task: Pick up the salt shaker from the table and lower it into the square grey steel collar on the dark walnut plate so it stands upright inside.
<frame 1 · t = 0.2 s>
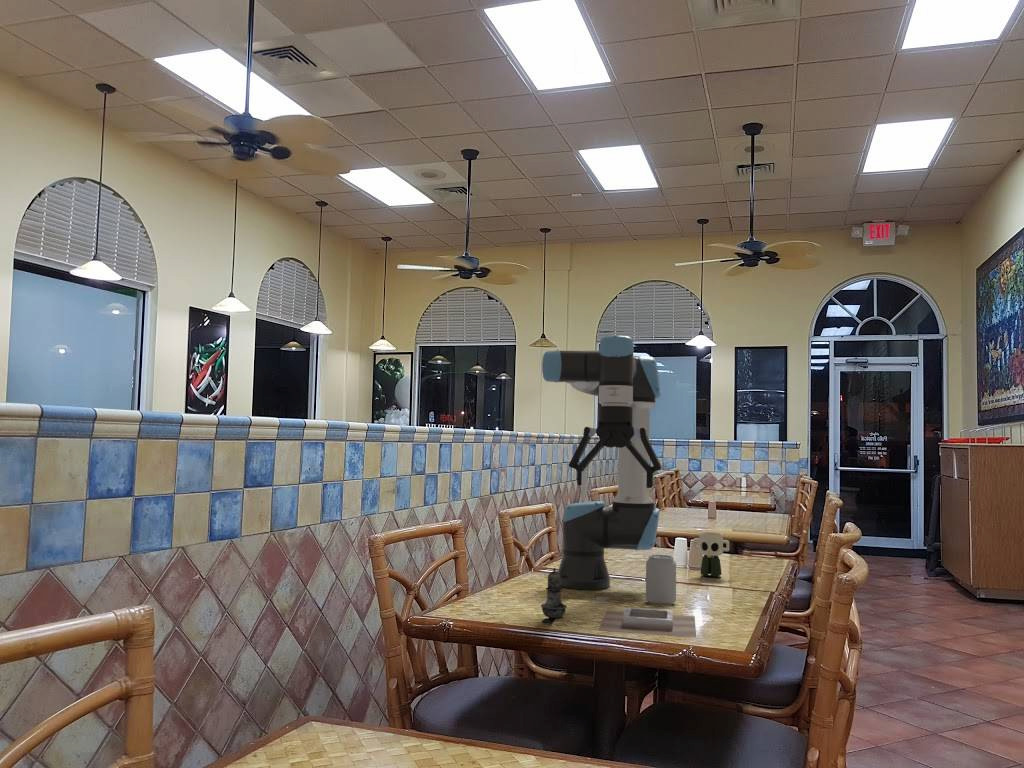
hand: (614, 502, 176), 27 cm above the table, tool pointing down, fingers open, 13 cm apart
steel collar: (648, 622, 175), resting on walnut plate
walnut plate: (648, 628, 175), on the table
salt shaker: (553, 622, 179), on the table
can: (660, 604, 201), on the table
character mug: (710, 577, 243), on the table
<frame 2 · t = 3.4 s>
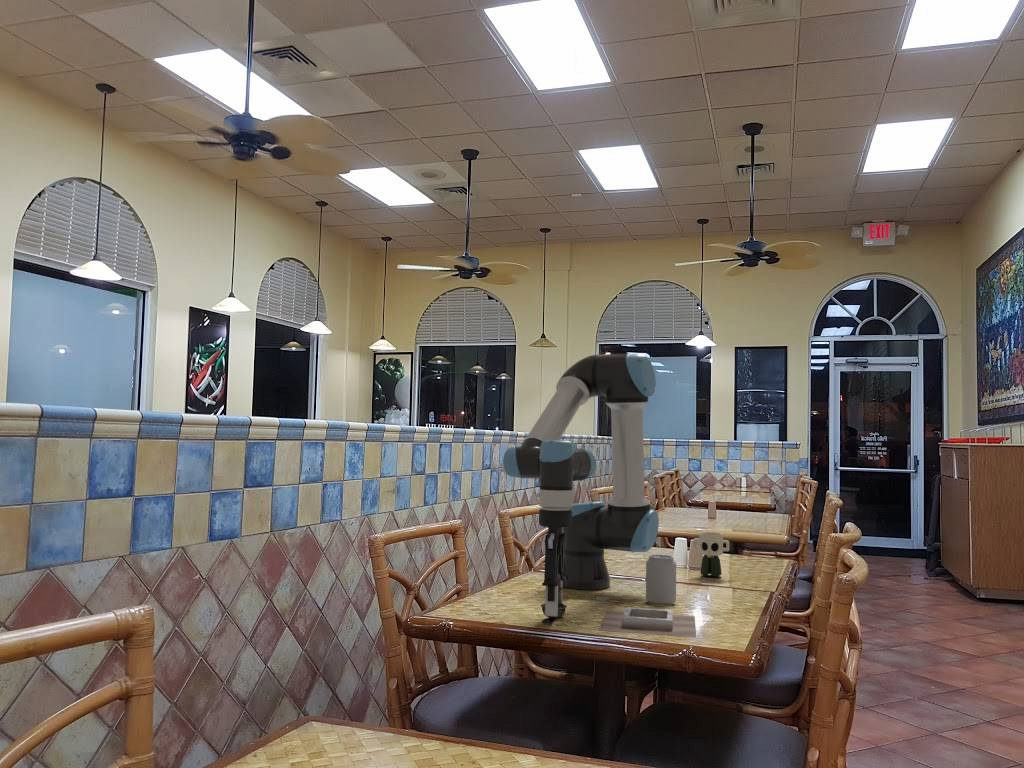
hand: (553, 612, 179), 2 cm above the table, tool pointing down, fingers closed on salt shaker, 6 cm apart
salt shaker: (553, 622, 179), on the table, touching gripper
everything else where it was.
when the fingers open (5 cm above the table, at t = 8.5 s): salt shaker drops 1 cm, resting on walnut plate.
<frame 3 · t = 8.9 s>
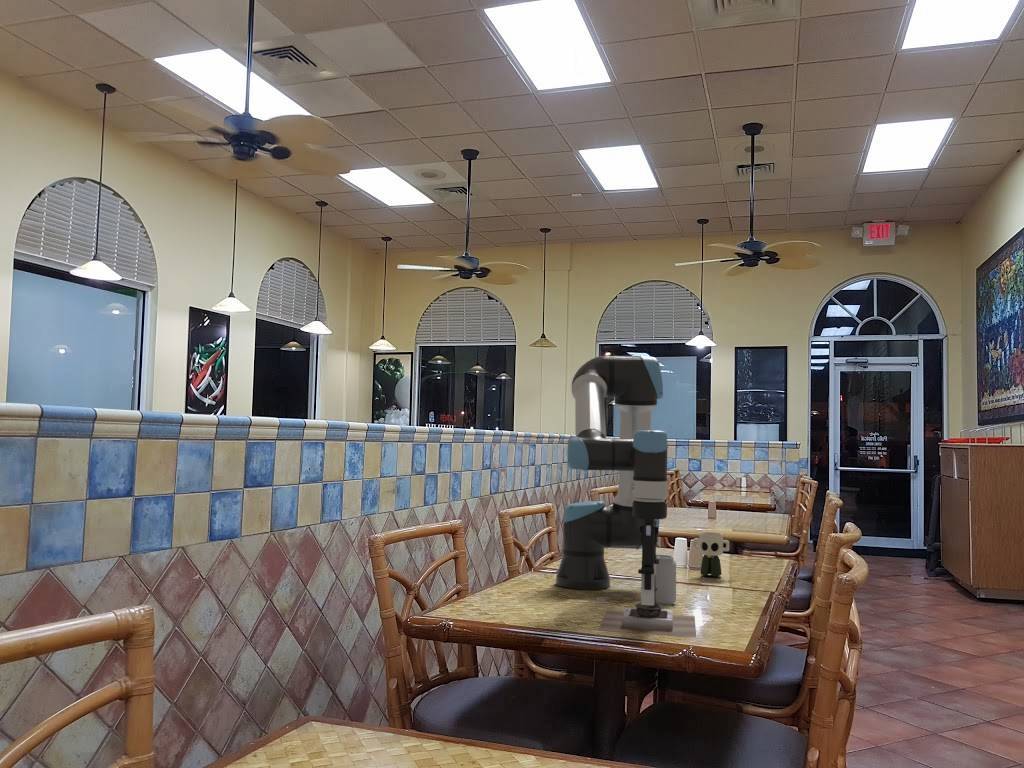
hand: (648, 599, 175), 6 cm above the table, tool pointing down, fingers open, 12 cm apart
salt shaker: (648, 623, 175), point 1 cm above the table, touching walnut plate
everything else where it was.
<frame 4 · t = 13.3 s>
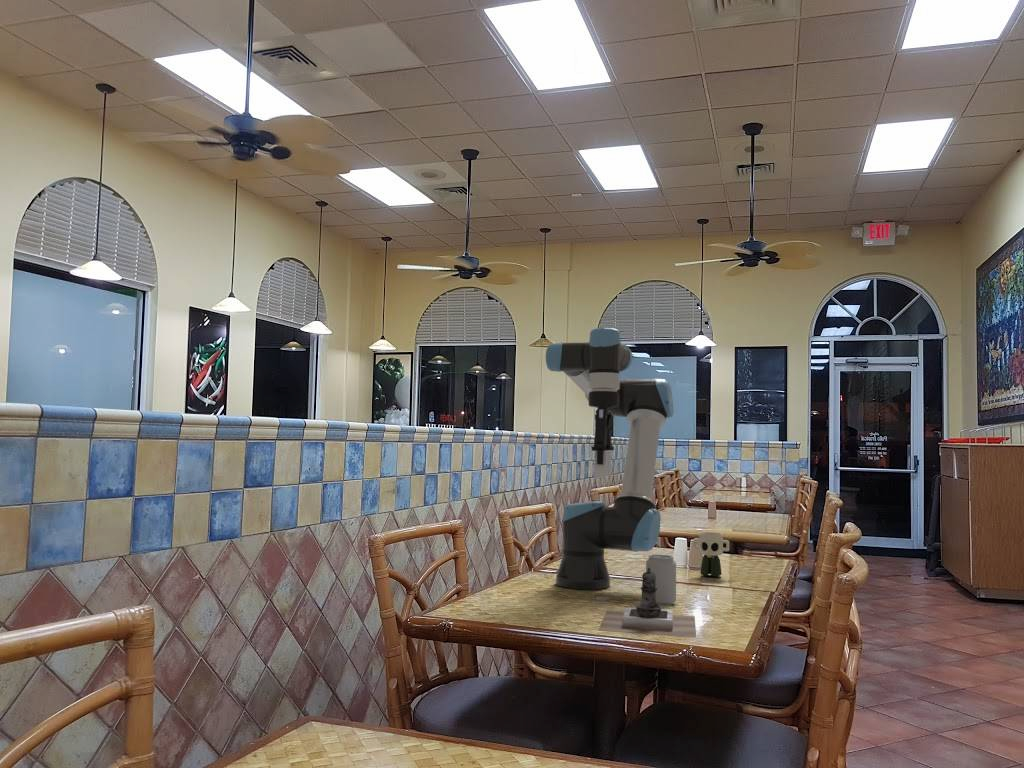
hand: (602, 477, 196), 32 cm above the table, tool pointing down, fingers open, 13 cm apart
nothing on the table moved.
at the end: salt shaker 0.0 cm off-centre on the steel collar, point 0.0 cm above the steel collar's base; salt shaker tilted 0°; the gripper is holding nothing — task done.
